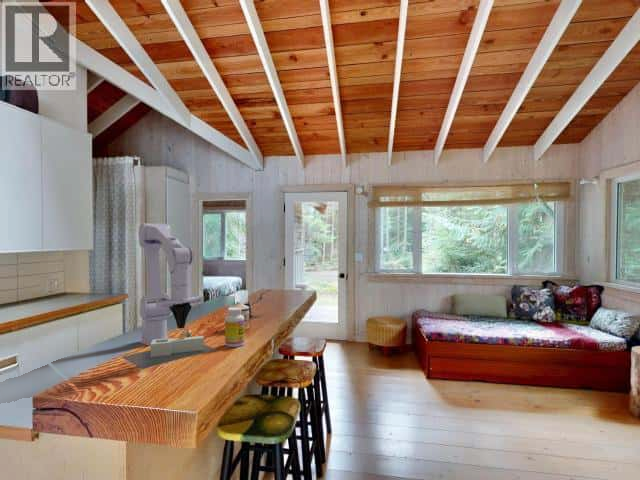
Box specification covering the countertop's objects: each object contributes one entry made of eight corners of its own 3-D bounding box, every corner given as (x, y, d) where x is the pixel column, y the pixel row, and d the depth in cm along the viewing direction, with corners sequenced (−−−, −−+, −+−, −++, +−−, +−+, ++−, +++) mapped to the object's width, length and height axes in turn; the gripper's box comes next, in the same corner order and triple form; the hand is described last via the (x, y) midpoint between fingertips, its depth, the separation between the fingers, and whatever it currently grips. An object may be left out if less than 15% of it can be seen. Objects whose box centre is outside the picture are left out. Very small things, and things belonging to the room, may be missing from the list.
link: (150, 357, 111) (150, 344, 111) (152, 351, 117) (152, 339, 117) (204, 351, 117) (203, 338, 117) (203, 346, 122) (203, 334, 122)
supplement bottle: (239, 348, 122) (239, 310, 122) (222, 347, 123) (221, 310, 123) (247, 342, 128) (246, 307, 128) (230, 341, 129) (230, 306, 130)
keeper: (180, 352, 117) (180, 334, 117) (186, 347, 123) (186, 329, 123) (185, 352, 117) (185, 333, 117) (191, 347, 123) (191, 329, 124)
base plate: (121, 358, 112) (121, 356, 112) (192, 342, 130) (192, 340, 130) (142, 370, 101) (142, 368, 101) (217, 350, 119) (217, 349, 119)
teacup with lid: (246, 331, 145) (246, 303, 145) (224, 331, 145) (224, 303, 145) (253, 325, 156) (253, 298, 157) (233, 325, 157) (233, 298, 157)
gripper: (162, 288, 105) (163, 334, 105) (207, 283, 115) (208, 325, 115) (153, 286, 109) (153, 330, 109) (196, 282, 120) (197, 322, 120)
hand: (180, 327), depth 113 cm, fingers closed
